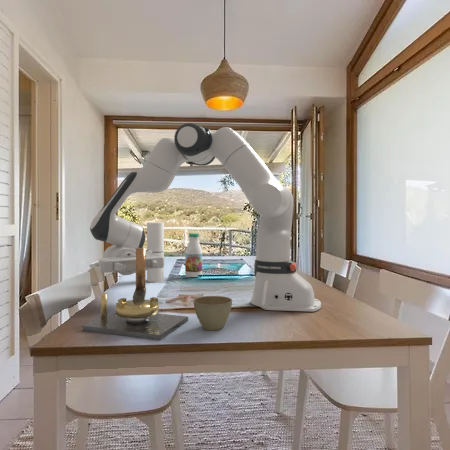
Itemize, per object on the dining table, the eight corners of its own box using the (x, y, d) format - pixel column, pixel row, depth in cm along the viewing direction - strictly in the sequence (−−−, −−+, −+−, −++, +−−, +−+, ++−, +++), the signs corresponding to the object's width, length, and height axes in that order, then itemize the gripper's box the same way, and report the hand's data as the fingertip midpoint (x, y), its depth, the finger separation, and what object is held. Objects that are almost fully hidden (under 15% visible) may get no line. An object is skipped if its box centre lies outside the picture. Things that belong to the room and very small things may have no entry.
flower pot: (231, 321, 100) (231, 295, 100) (233, 333, 90) (233, 304, 90) (194, 321, 99) (194, 295, 99) (192, 333, 89) (192, 304, 89)
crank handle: (158, 317, 91) (158, 255, 91) (112, 319, 89) (112, 256, 89) (159, 298, 111) (159, 247, 110) (122, 299, 109) (121, 248, 108)
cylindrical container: (160, 282, 154) (160, 222, 153) (144, 281, 155) (144, 222, 154) (166, 279, 161) (166, 222, 160) (150, 278, 162) (150, 222, 161)
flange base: (188, 320, 100) (188, 293, 100) (160, 340, 85) (160, 307, 84) (119, 313, 107) (119, 287, 106) (82, 330, 91) (82, 300, 91)
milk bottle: (183, 275, 170) (183, 232, 169) (200, 275, 172) (200, 232, 172) (187, 278, 163) (187, 233, 162) (204, 278, 165) (204, 233, 164)
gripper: (92, 253, 115) (103, 258, 103) (154, 250, 126) (171, 254, 114) (93, 273, 115) (104, 280, 103) (154, 268, 126) (171, 274, 114)
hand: (139, 266), depth 109 cm, fingers open, 8 cm apart
